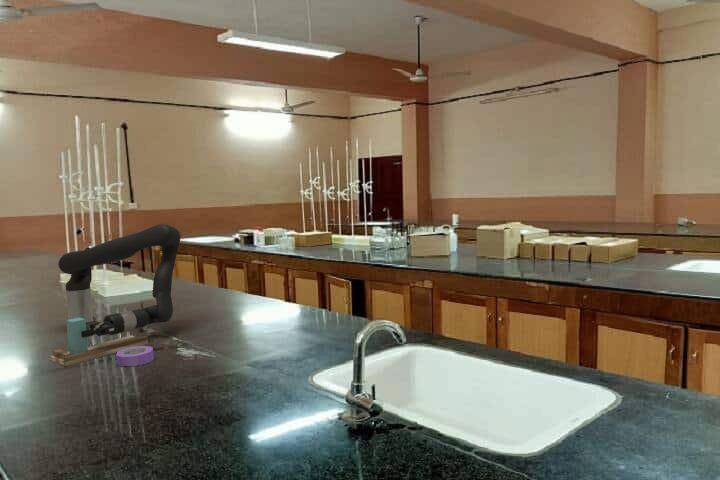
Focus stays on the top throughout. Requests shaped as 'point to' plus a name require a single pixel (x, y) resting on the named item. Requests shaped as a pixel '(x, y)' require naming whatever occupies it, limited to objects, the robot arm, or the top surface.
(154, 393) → the top surface
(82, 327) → the block
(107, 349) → the board
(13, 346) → the top surface
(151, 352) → the masking tape
